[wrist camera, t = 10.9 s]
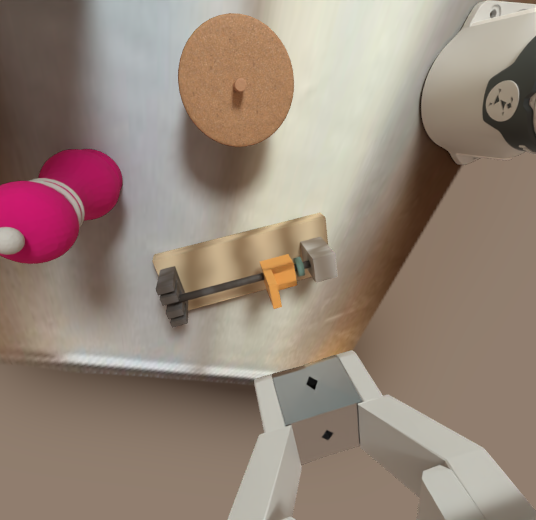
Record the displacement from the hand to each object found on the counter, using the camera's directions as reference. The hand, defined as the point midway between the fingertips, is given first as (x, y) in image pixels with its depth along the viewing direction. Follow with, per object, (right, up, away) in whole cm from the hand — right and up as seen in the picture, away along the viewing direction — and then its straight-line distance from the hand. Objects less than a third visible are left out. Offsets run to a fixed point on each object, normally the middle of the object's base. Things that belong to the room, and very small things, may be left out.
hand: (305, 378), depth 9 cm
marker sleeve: (0, +2, +33) cm, 33 cm away
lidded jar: (-5, +23, +26) cm, 35 cm away
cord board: (-4, +3, +36) cm, 37 cm away
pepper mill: (-22, +13, +28) cm, 37 cm away
